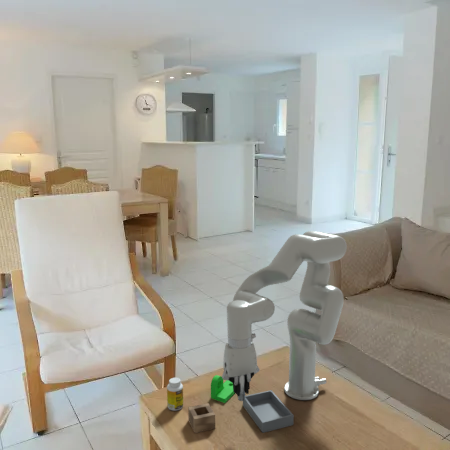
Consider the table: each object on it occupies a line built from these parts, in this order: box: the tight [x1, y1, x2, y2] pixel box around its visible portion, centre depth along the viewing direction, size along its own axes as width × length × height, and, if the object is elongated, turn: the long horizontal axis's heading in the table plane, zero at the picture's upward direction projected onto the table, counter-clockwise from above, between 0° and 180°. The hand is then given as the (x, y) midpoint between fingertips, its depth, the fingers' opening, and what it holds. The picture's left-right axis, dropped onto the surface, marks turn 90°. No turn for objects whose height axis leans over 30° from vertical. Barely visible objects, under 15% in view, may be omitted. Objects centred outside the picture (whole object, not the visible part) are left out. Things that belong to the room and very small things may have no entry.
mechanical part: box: [210, 374, 236, 404], centre depth 170 cm, size 12×6×8 cm, turn 149°
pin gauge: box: [237, 375, 246, 402], centre depth 147 cm, size 2×2×10 cm
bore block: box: [187, 402, 216, 434], centre depth 152 cm, size 7×7×5 cm
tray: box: [242, 389, 294, 433], centre depth 157 cm, size 11×16×4 cm
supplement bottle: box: [166, 377, 184, 412], centre depth 161 cm, size 6×6×10 cm
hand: (241, 392), depth 147 cm, fingers closed on pin gauge, 2 cm apart
